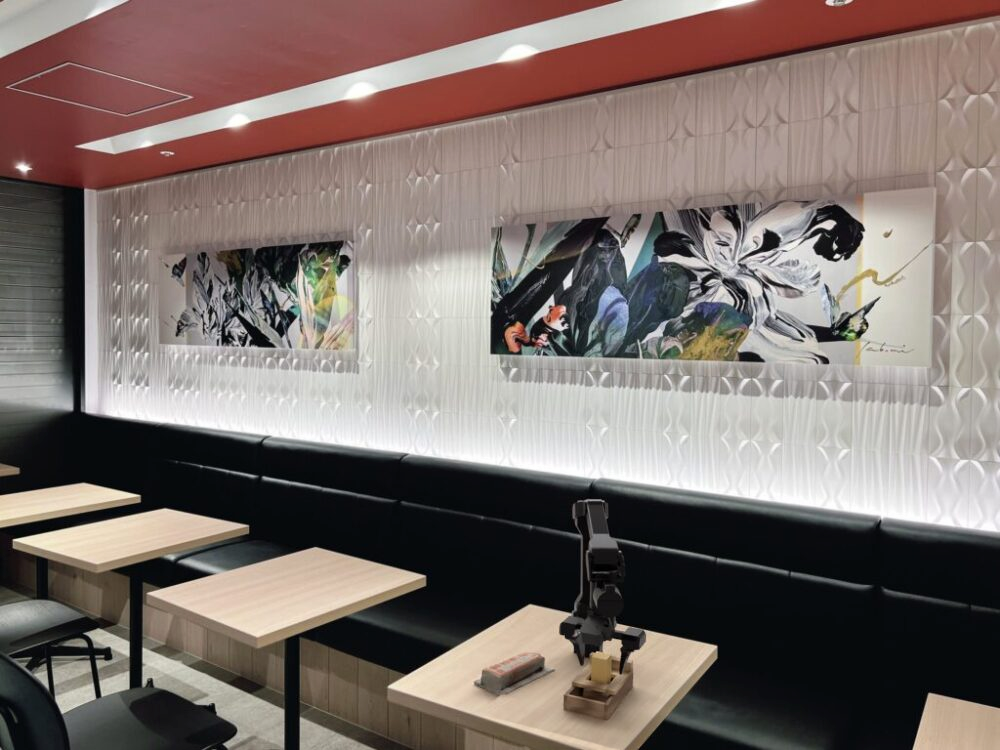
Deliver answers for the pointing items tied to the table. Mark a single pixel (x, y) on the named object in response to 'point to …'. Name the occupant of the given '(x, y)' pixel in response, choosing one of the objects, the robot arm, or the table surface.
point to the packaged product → (513, 673)
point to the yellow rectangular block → (601, 668)
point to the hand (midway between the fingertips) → (601, 669)
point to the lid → (616, 682)
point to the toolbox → (595, 700)
